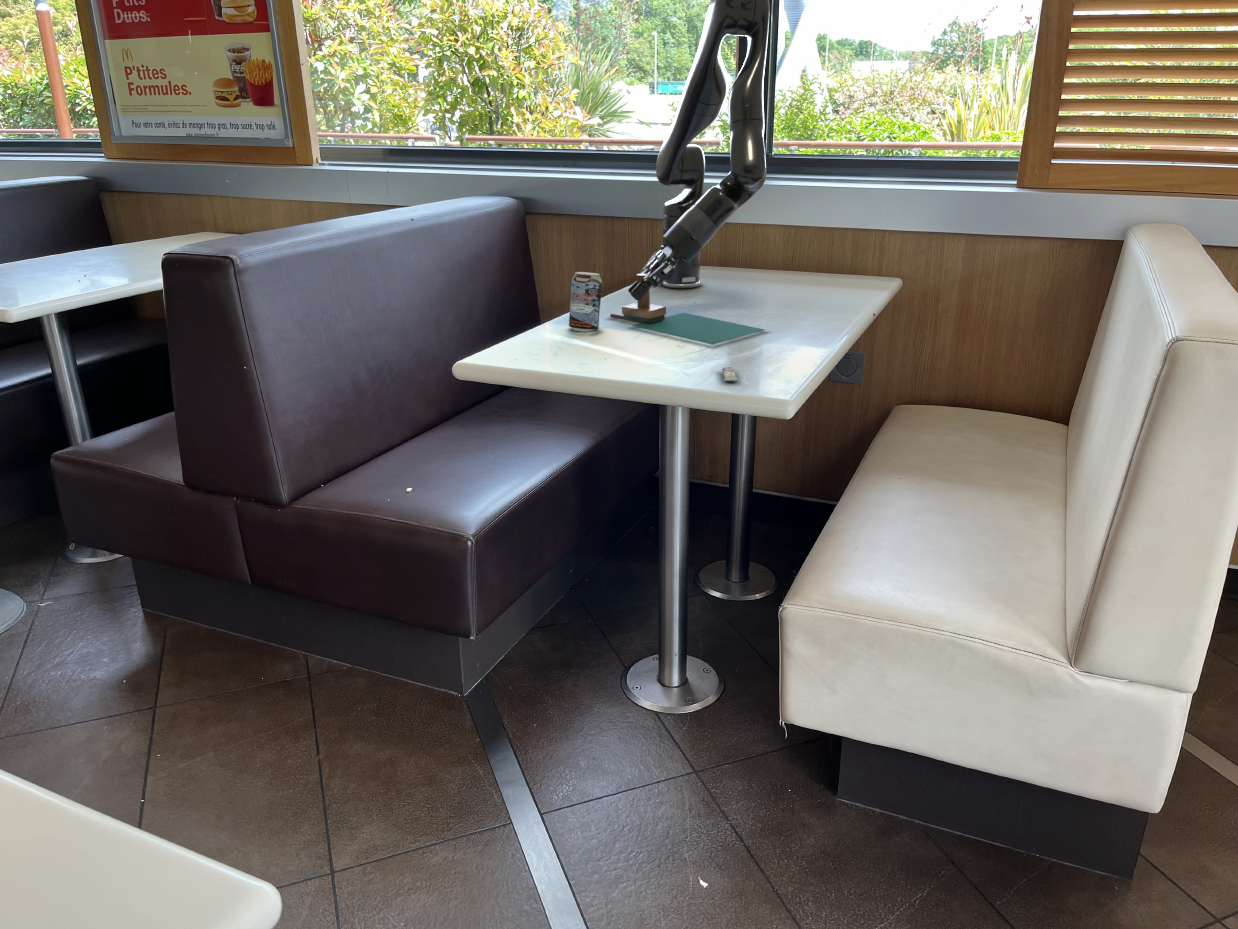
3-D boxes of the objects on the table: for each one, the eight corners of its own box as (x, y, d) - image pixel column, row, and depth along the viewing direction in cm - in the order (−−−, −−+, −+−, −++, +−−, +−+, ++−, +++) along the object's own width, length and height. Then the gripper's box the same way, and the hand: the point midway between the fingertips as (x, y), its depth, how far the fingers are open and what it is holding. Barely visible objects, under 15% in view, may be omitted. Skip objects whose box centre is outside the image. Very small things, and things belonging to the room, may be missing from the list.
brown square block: (610, 319, 191) (610, 313, 191) (623, 315, 194) (623, 310, 193) (623, 321, 188) (623, 316, 188) (636, 318, 191) (636, 313, 191)
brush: (622, 319, 188) (620, 274, 185) (638, 315, 192) (636, 270, 188) (650, 324, 183) (649, 278, 179) (666, 319, 186) (665, 274, 183)
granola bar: (738, 383, 147) (738, 377, 146) (724, 383, 147) (724, 377, 146) (734, 371, 153) (734, 365, 153) (720, 371, 153) (720, 365, 153)
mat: (631, 328, 183) (631, 325, 183) (684, 315, 193) (684, 312, 193) (712, 347, 168) (712, 344, 168) (765, 332, 178) (765, 329, 178)
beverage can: (563, 333, 180) (561, 273, 175) (581, 325, 186) (580, 267, 181) (590, 336, 177) (589, 276, 172) (608, 328, 183) (607, 270, 178)
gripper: (671, 216, 187) (615, 277, 190) (685, 224, 174) (624, 290, 177) (696, 241, 190) (639, 300, 193) (711, 251, 177) (650, 315, 180)
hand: (632, 295), depth 185 cm, fingers closed on brush, 2 cm apart
